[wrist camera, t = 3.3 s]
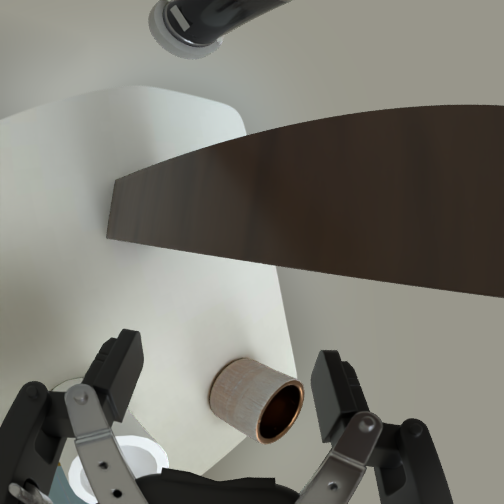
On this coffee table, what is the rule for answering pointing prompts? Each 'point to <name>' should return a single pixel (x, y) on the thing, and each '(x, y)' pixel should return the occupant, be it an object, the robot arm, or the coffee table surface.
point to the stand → (338, 198)
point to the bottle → (63, 490)
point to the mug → (131, 443)
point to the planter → (257, 400)
